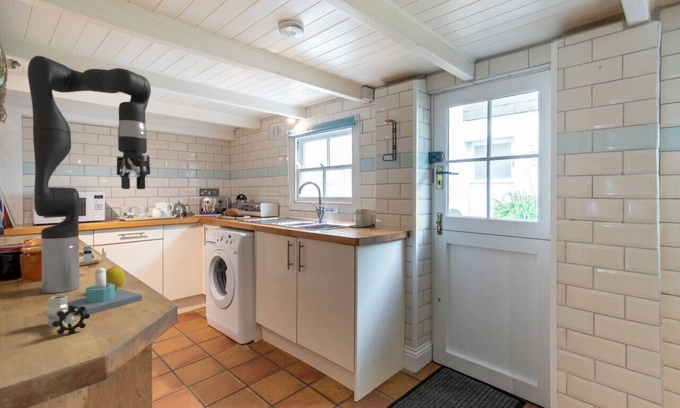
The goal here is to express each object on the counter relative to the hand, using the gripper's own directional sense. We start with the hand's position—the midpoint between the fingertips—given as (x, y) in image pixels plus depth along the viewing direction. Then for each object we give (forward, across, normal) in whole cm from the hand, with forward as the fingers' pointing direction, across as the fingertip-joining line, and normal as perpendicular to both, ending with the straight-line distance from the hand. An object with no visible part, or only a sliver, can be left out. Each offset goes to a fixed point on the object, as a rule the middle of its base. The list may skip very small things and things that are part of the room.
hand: (133, 189), depth 102 cm
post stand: (+33, +3, -11) cm, 35 cm away
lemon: (+33, -8, -2) cm, 34 cm away
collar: (+31, +3, -11) cm, 33 cm away
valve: (+33, +14, -23) cm, 43 cm away
